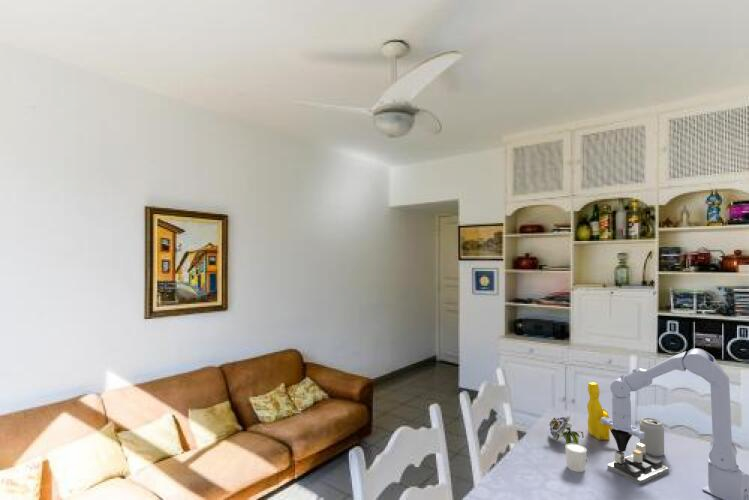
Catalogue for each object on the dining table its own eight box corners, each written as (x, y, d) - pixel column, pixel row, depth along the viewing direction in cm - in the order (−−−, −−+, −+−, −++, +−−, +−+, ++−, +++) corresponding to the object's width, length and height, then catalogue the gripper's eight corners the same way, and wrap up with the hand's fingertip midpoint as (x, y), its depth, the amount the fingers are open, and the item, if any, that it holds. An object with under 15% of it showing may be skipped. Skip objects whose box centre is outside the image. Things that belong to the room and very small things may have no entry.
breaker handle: (642, 461, 138) (642, 452, 138) (639, 463, 138) (638, 453, 138) (636, 458, 140) (636, 449, 140) (632, 460, 139) (632, 450, 139)
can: (668, 458, 146) (668, 425, 146) (645, 456, 148) (645, 424, 148) (658, 448, 154) (658, 417, 154) (636, 446, 155) (636, 415, 155)
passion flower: (554, 453, 162) (542, 422, 168) (581, 448, 162) (567, 417, 168) (562, 449, 152) (549, 416, 159) (590, 443, 152) (576, 410, 159)
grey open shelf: (668, 472, 137) (668, 453, 137) (640, 485, 131) (639, 465, 130) (635, 457, 147) (635, 439, 147) (607, 468, 140) (607, 450, 140)
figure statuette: (623, 447, 155) (623, 390, 155) (604, 448, 154) (604, 391, 154) (593, 426, 173) (593, 375, 173) (576, 428, 172) (575, 376, 172)
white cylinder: (575, 474, 137) (575, 453, 137) (560, 464, 144) (560, 444, 144) (591, 471, 139) (591, 450, 139) (576, 461, 146) (576, 441, 146)
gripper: (595, 407, 149) (595, 444, 149) (635, 422, 136) (635, 462, 136) (607, 404, 152) (608, 440, 152) (647, 418, 139) (648, 457, 139)
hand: (622, 450), depth 144 cm, fingers closed
